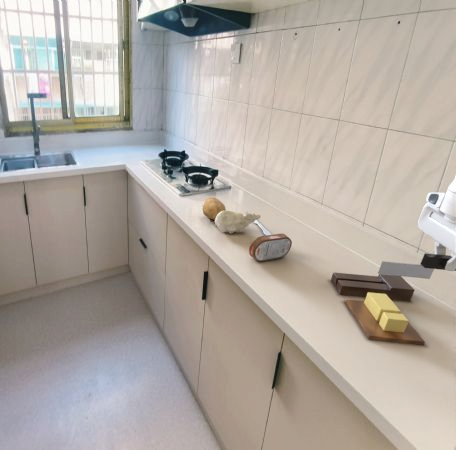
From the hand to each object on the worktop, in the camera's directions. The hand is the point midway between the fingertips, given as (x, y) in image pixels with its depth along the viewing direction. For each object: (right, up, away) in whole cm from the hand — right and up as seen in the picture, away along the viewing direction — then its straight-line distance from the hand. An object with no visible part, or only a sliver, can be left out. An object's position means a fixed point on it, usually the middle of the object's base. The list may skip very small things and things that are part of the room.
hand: (442, 265), depth 75 cm
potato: (-40, +12, +66) cm, 78 cm away
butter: (-7, -13, +11) cm, 18 cm away
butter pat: (-8, -15, +5) cm, 18 cm away
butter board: (-8, -15, +9) cm, 19 cm away
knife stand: (-3, -10, +21) cm, 24 cm away
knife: (-4, -3, +2) cm, 6 cm away
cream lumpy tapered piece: (-33, +7, +56) cm, 66 cm away
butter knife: (-22, +9, +63) cm, 67 cm away
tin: (-26, -2, +37) cm, 45 cm away
